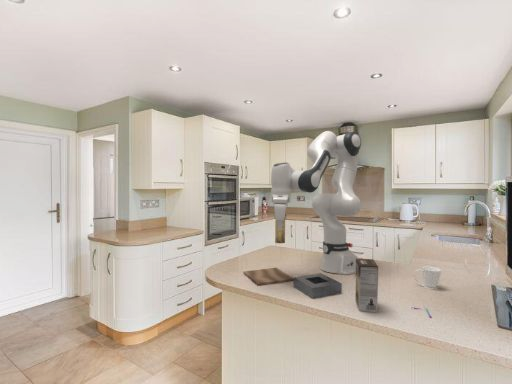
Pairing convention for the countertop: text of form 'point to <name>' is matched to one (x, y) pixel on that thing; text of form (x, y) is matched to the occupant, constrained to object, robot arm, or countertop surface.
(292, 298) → the countertop surface
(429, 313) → the squeegee
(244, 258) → the countertop surface
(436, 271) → the cup
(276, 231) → the brass peg
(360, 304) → the coffee box
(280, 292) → the countertop surface
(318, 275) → the metal socket
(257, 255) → the countertop surface
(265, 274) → the walnut board
